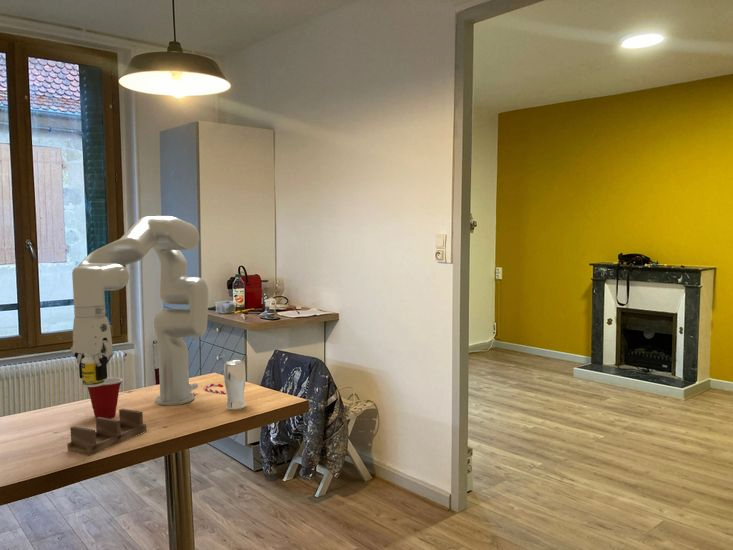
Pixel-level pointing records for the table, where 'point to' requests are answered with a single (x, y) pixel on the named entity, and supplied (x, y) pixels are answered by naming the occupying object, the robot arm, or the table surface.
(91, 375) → the supplement bottle
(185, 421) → the table surface
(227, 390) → the beer glass
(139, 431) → the rack
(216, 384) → the candy cane
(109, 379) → the plastic cup
